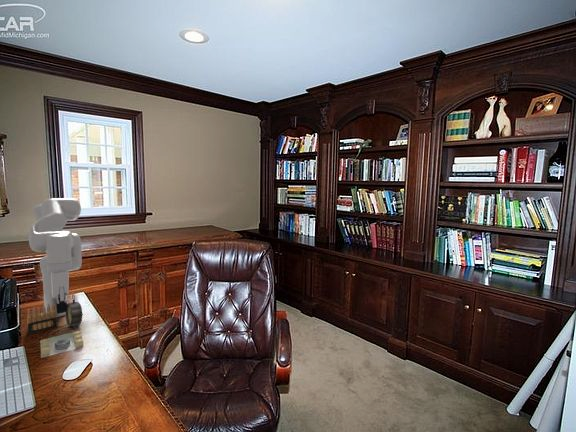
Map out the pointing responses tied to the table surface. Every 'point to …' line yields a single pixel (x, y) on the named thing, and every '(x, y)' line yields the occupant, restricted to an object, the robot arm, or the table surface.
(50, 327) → the ammunition clip
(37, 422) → the table surface
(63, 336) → the spacer board
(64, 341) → the grey faceted block
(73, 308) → the alarm clock
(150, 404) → the table surface
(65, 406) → the table surface
